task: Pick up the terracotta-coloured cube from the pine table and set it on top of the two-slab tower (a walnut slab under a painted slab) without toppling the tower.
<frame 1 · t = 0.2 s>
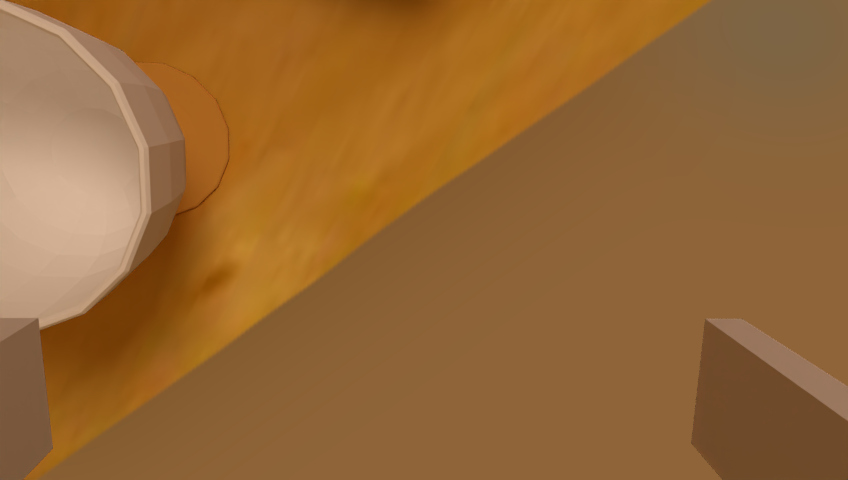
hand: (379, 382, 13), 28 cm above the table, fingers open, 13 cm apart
cup: (153, 140, 39), on the table
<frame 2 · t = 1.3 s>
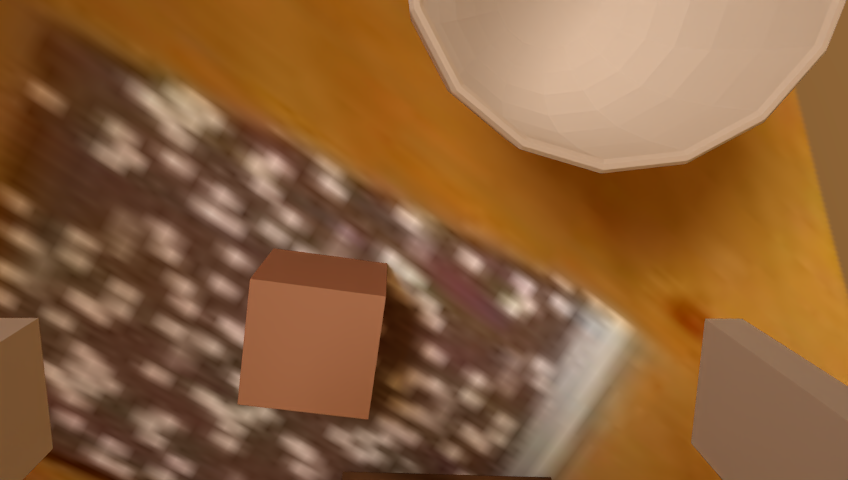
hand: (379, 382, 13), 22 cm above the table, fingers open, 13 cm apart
cup: (513, 16, 33), on the table
block: (324, 309, 36), on the table
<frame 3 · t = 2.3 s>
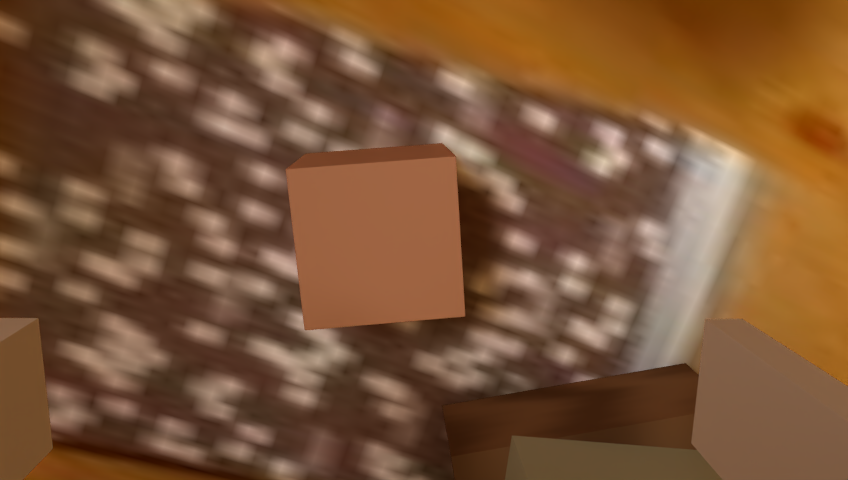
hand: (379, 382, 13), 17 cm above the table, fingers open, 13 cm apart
block: (380, 214, 30), on the table
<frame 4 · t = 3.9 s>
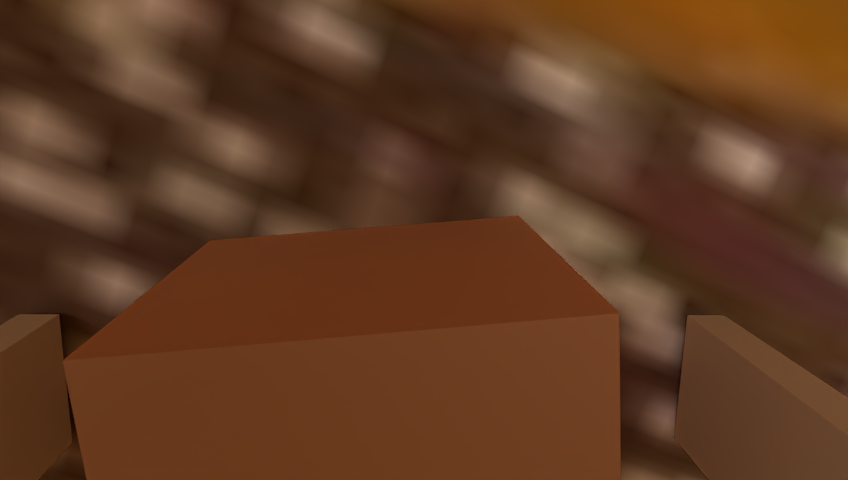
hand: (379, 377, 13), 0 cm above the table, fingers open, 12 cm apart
block: (378, 369, 14), on the table
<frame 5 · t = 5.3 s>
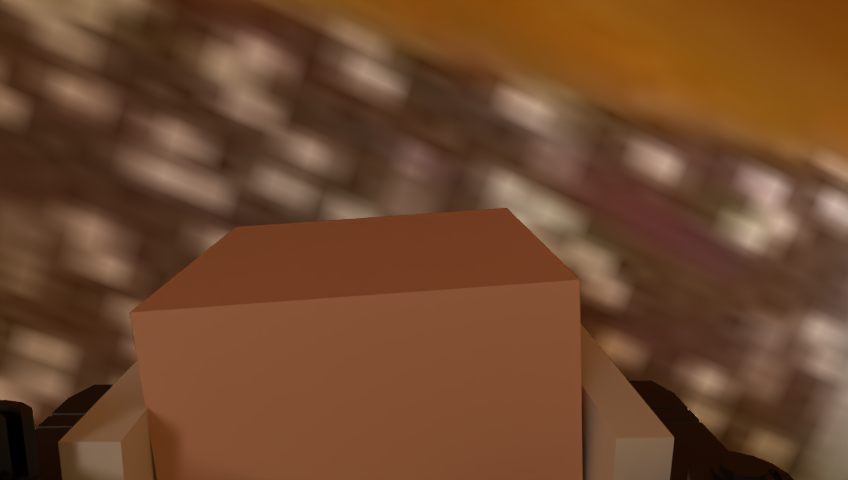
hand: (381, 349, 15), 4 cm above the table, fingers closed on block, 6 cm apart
block: (382, 345, 15), point 4 cm above the table, touching gripper
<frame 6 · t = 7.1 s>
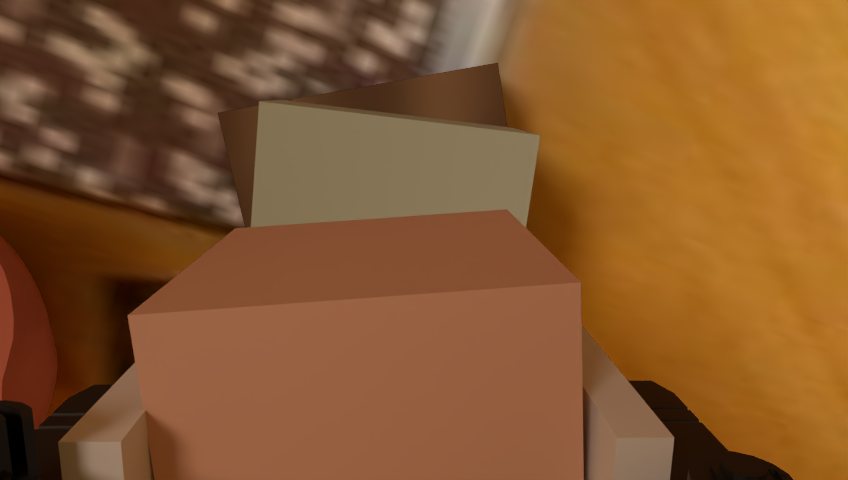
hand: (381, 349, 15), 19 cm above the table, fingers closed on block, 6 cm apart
tower top: (387, 228, 29), point 5 cm above the table, touching tower base
tower base: (385, 205, 34), on the table, touching tower top
block: (382, 346, 15), point 19 cm above the table, touching gripper
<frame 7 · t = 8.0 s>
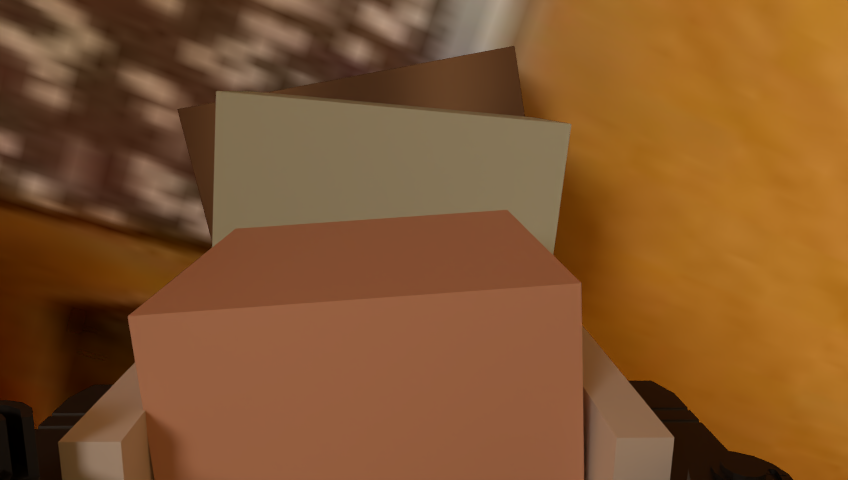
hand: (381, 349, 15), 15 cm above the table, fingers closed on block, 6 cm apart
tower top: (384, 241, 25), point 5 cm above the table, touching tower base
tower base: (381, 217, 29), on the table, touching tower top
block: (382, 347, 15), point 14 cm above the table, touching gripper
when the fingers open (10 cm above the table, at t = 9.1 s): block stays where it is, resting on tower top.
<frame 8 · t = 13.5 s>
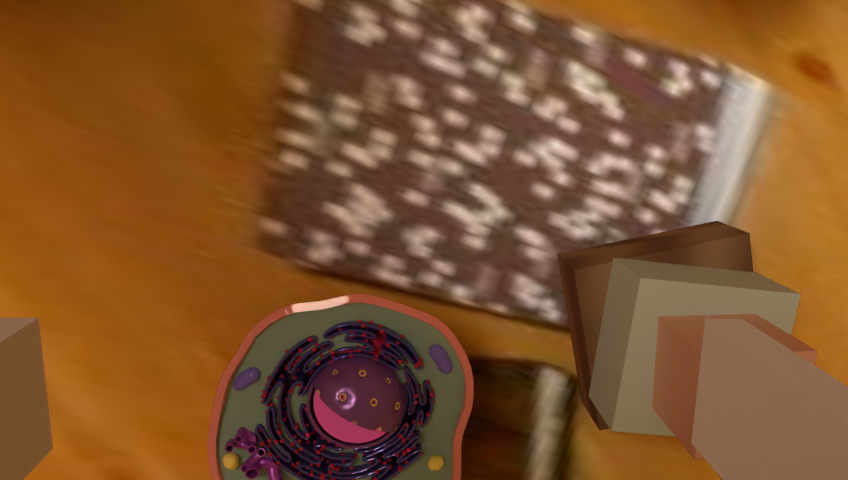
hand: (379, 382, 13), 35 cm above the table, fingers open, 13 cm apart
tower top: (671, 335, 46), point 4 cm above the table, touching block, tower base
tower base: (645, 311, 51), on the table, touching tower top
cell model: (348, 384, 51), on the table
block: (703, 361, 41), point 9 cm above the table, touching tower top
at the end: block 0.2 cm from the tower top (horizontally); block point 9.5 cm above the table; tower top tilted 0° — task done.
